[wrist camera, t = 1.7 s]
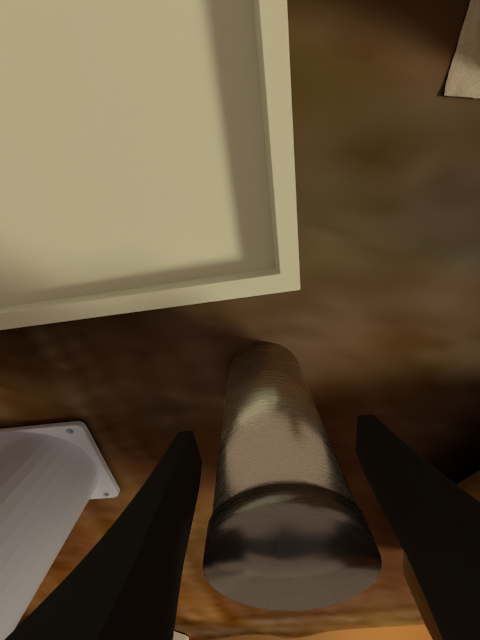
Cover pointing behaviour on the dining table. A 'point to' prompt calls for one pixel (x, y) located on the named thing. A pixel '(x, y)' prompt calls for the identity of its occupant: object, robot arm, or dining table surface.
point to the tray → (143, 156)
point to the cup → (179, 636)
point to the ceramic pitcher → (475, 486)
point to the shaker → (282, 496)
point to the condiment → (466, 58)
